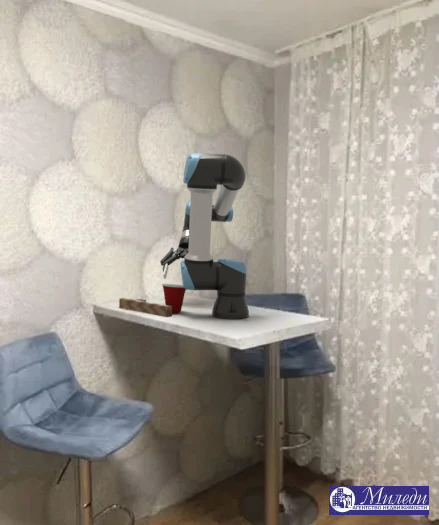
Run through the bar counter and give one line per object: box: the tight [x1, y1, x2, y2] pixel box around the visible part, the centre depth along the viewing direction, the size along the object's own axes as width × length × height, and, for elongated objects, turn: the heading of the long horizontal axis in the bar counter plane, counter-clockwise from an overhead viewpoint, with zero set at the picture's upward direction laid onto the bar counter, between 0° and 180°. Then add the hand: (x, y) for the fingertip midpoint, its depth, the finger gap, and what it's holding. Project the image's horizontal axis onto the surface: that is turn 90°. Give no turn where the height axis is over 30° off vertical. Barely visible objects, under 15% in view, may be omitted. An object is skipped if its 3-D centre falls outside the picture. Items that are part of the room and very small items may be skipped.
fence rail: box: [118, 297, 173, 318], centre depth 202 cm, size 29×11×4 cm, turn 51°
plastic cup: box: [161, 283, 186, 315], centre depth 199 cm, size 11×11×12 cm
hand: (179, 277), depth 207 cm, fingers open, 13 cm apart
